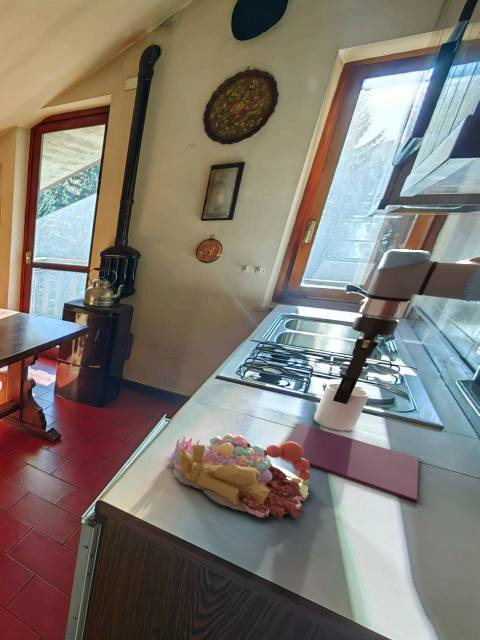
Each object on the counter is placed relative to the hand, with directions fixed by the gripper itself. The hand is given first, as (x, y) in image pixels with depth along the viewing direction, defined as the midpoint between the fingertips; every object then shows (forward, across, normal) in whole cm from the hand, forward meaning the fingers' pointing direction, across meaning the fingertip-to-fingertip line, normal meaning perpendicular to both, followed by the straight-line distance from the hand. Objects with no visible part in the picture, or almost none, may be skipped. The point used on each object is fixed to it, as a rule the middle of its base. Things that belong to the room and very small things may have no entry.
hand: (343, 395), depth 103 cm
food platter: (+8, +51, -10) cm, 53 cm away
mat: (+8, +21, +5) cm, 23 cm away
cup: (+8, 0, 0) cm, 8 cm away
